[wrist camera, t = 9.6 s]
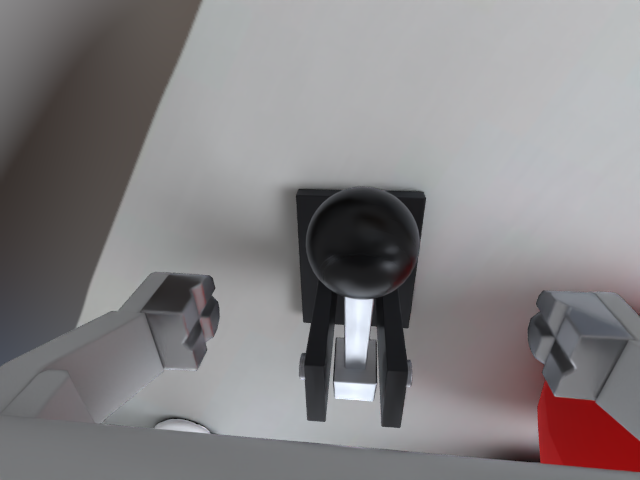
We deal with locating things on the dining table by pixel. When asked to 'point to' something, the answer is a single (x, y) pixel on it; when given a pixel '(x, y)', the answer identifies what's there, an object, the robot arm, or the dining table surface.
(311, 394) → the lever bracket
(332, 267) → the lever handle
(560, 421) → the vase
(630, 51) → the dining table surface
